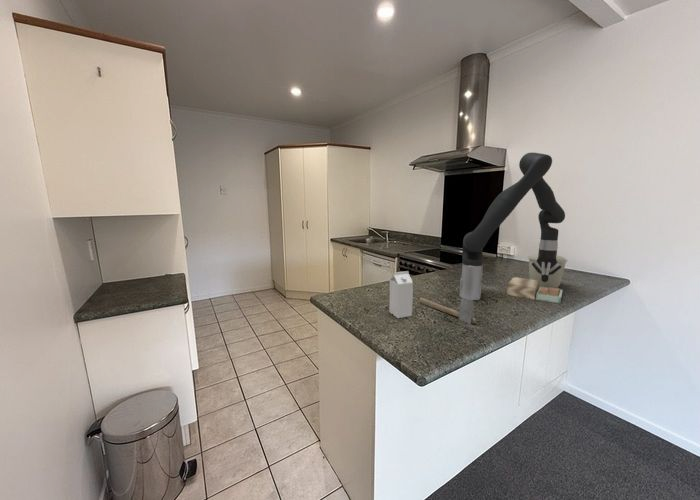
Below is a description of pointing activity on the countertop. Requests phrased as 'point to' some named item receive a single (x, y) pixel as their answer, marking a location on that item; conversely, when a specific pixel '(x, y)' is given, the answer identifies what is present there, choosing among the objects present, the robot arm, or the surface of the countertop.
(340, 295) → the countertop surface
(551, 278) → the canister
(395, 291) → the milk carton
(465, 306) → the long-handled mallet
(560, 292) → the bin
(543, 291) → the terracotta tile
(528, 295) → the zigzag patterned block
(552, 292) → the terracotta tile
